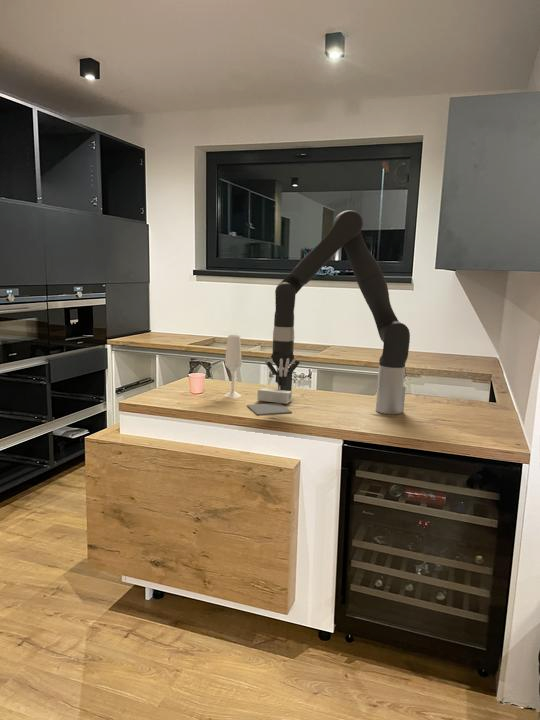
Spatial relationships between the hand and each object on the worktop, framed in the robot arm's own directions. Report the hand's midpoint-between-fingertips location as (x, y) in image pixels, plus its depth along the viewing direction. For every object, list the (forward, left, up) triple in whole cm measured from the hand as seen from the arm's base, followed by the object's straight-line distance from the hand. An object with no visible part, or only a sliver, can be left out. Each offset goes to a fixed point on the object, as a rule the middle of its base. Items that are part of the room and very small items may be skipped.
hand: (281, 386), depth 189 cm
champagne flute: (+12, -22, -9) cm, 27 cm away
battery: (-7, -16, -9) cm, 20 cm away
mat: (+4, 0, -8) cm, 10 cm away
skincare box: (-6, -6, -6) cm, 11 cm away
